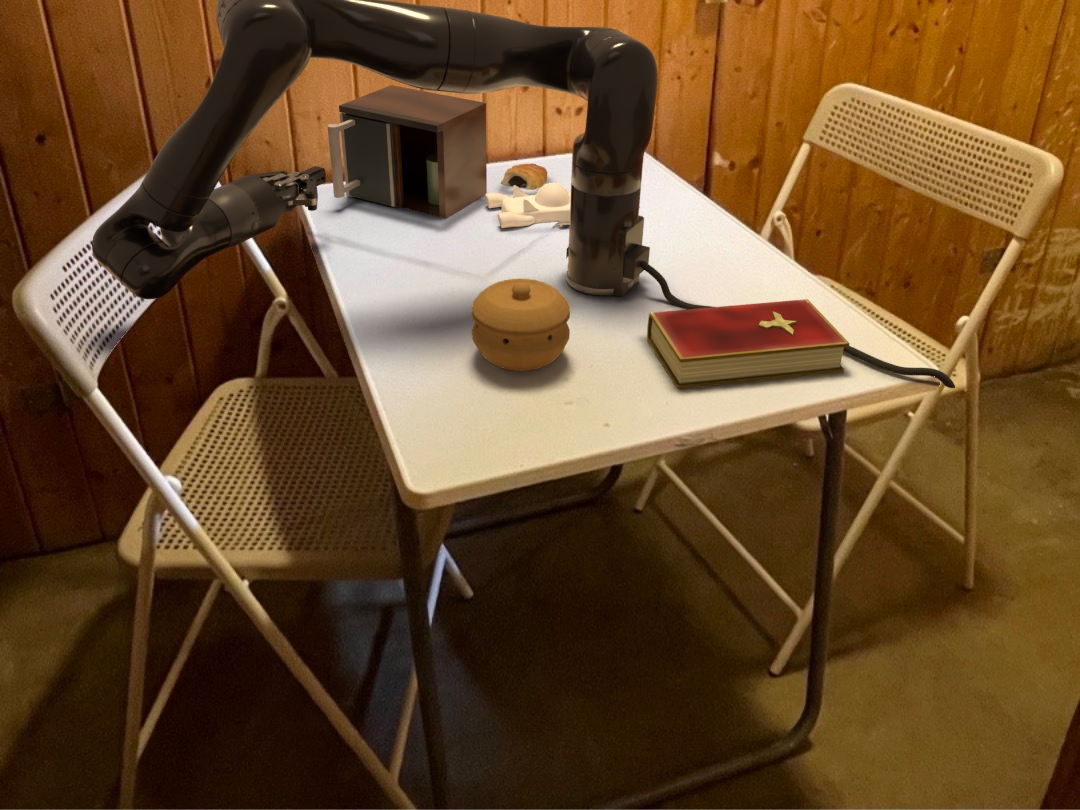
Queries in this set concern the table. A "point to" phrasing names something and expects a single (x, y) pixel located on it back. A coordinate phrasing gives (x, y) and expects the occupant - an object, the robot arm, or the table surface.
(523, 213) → the plane toy
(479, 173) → the cupboard
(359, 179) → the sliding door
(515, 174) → the pastry
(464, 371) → the table surface
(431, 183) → the green jar
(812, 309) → the hardcover book
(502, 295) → the pot
